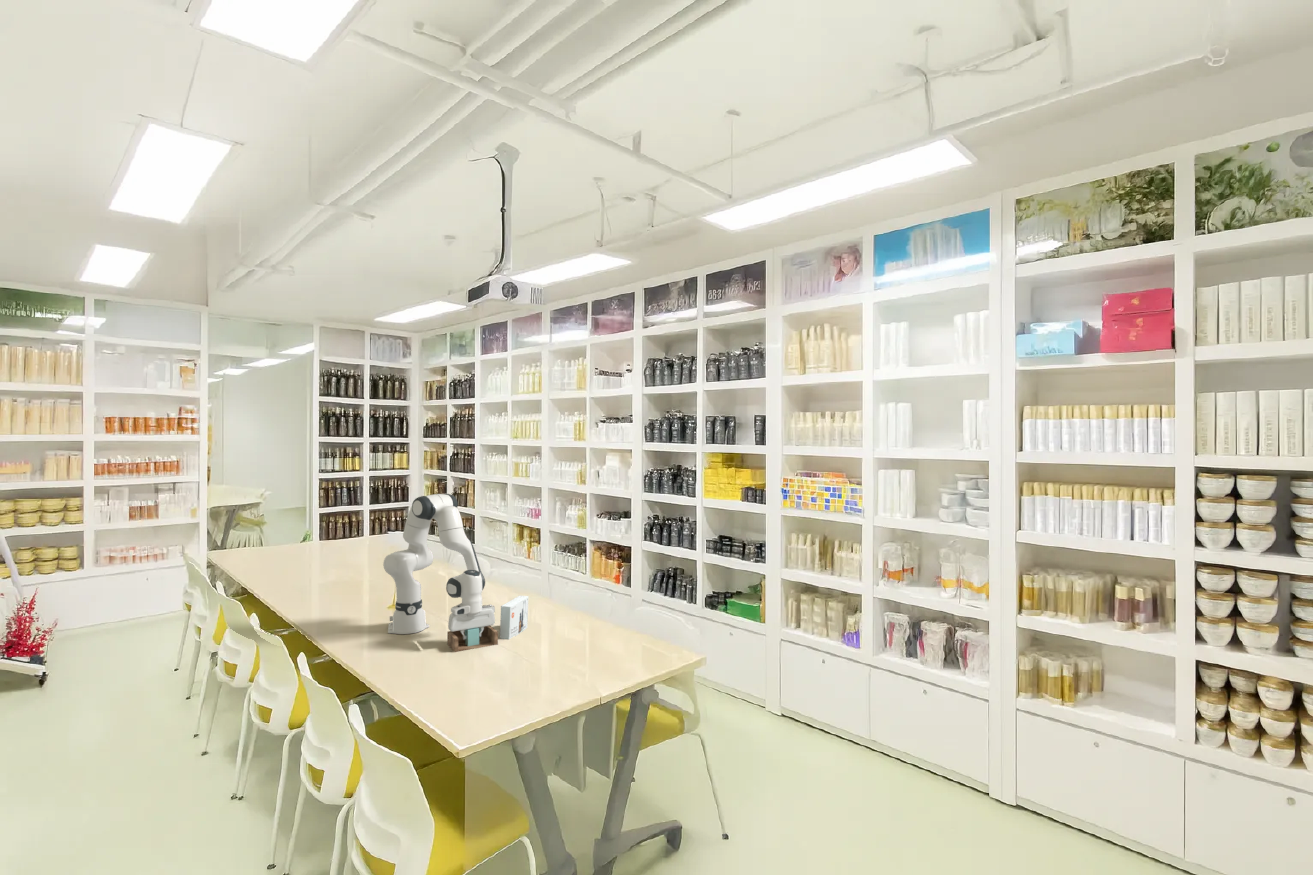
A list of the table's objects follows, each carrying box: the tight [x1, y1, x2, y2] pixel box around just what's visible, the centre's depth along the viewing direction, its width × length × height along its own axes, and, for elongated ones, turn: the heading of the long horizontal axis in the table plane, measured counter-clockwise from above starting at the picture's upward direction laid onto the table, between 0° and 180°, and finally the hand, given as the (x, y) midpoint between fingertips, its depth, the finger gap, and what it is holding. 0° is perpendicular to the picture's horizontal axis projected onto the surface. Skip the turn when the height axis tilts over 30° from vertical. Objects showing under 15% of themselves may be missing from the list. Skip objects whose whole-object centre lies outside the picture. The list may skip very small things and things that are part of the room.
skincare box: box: [499, 595, 529, 640], centre depth 299 cm, size 21×6×16 cm, turn 168°
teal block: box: [465, 628, 479, 646], centre depth 282 cm, size 5×5×7 cm
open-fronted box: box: [446, 625, 499, 653], centre depth 281 cm, size 12×19×6 cm, turn 123°
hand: (471, 637), depth 282 cm, fingers closed on teal block, 5 cm apart
